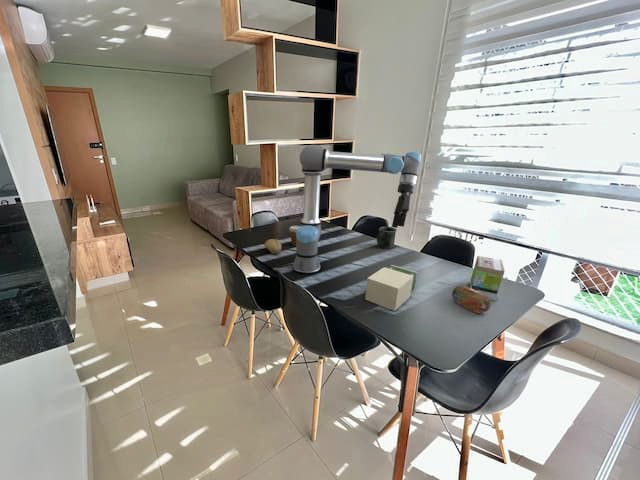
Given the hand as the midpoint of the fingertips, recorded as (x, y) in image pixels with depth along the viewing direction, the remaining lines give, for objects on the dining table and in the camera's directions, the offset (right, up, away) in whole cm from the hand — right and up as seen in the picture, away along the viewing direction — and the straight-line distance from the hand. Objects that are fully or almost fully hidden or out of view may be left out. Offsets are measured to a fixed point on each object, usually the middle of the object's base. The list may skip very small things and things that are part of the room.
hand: (397, 226), depth 145 cm
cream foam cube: (-11, -34, -15) cm, 38 cm away
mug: (+10, -9, +46) cm, 48 cm away
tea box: (+35, -31, -10) cm, 49 cm away
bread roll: (-64, -12, +42) cm, 77 cm away
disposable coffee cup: (-48, -7, +54) cm, 73 cm away
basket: (-4, -30, -9) cm, 32 cm away
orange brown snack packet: (+21, -37, -23) cm, 48 cm away
